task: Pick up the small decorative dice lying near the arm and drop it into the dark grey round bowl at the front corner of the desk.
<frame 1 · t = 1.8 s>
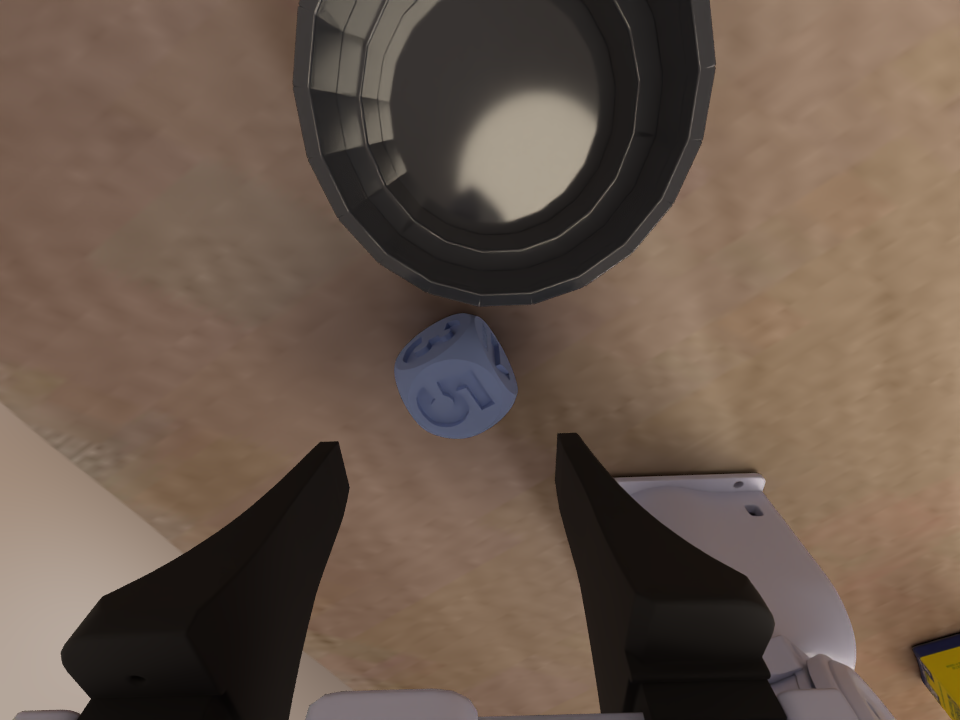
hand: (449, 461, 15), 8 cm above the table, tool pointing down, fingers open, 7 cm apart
dark grey round bowl: (495, 115, 17), on the table
supplement box: (954, 649, 34), on the table
decorative dice: (459, 352, 22), on the table
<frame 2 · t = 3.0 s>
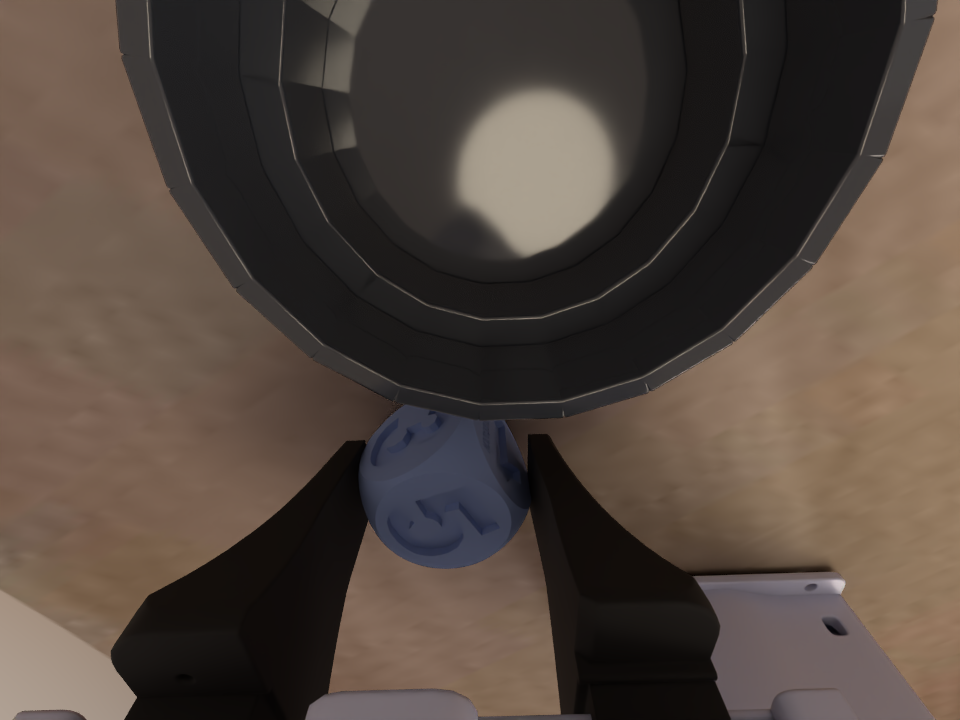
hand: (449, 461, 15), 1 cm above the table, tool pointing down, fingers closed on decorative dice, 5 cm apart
dark grey round bowl: (502, 112, 11), on the table
decorative dice: (451, 431, 16), on the table, touching gripper
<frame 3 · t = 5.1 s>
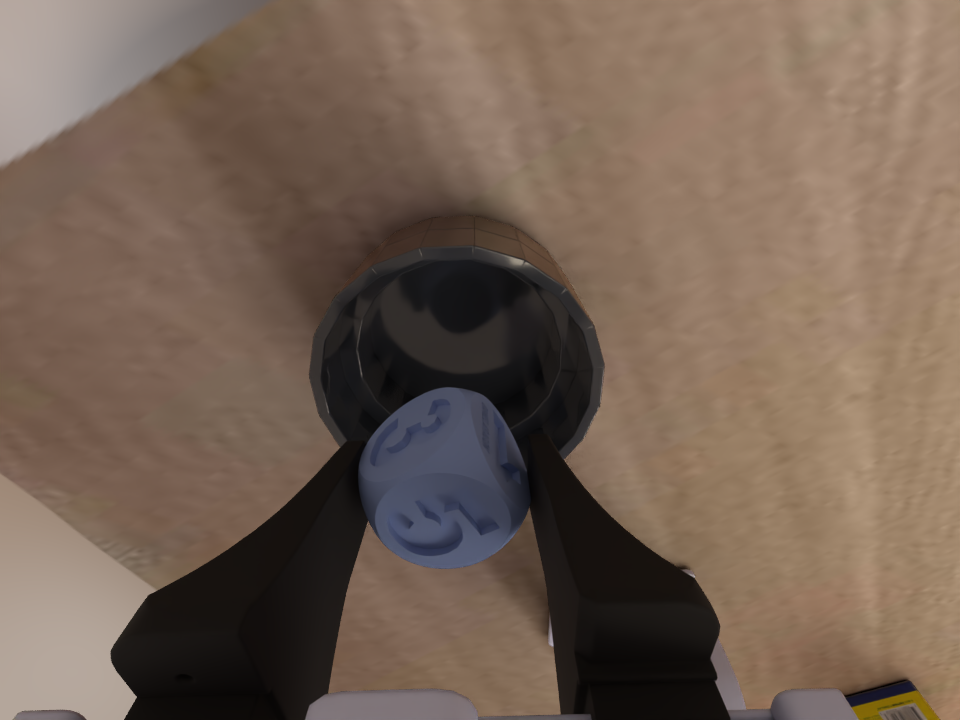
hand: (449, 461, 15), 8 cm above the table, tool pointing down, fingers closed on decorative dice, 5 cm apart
dark grey round bowl: (461, 330, 22), on the table
supplement box: (875, 700, 39), on the table
decorative dice: (450, 431, 16), point 7 cm above the table, touching gripper
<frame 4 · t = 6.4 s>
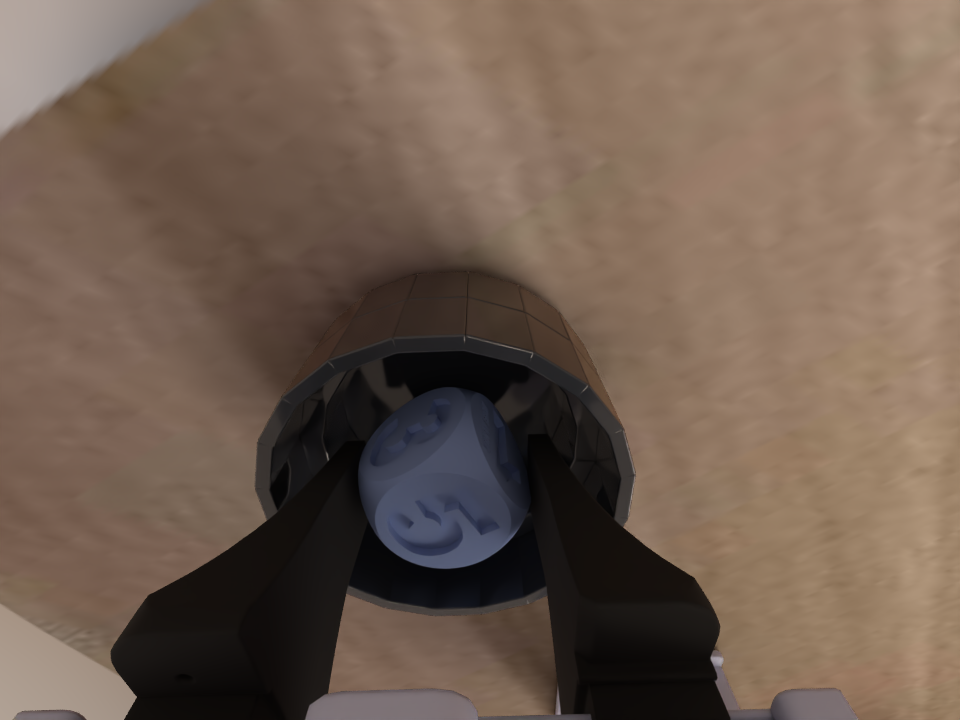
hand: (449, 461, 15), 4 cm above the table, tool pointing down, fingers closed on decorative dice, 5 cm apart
dark grey round bowl: (454, 399, 18), on the table
decorative dice: (450, 431, 16), point 2 cm above the table, touching gripper
when the fingers open (2 cm above the table, at t = 7.7 s): decorative dice stays where it is, resting on dark grey round bowl.
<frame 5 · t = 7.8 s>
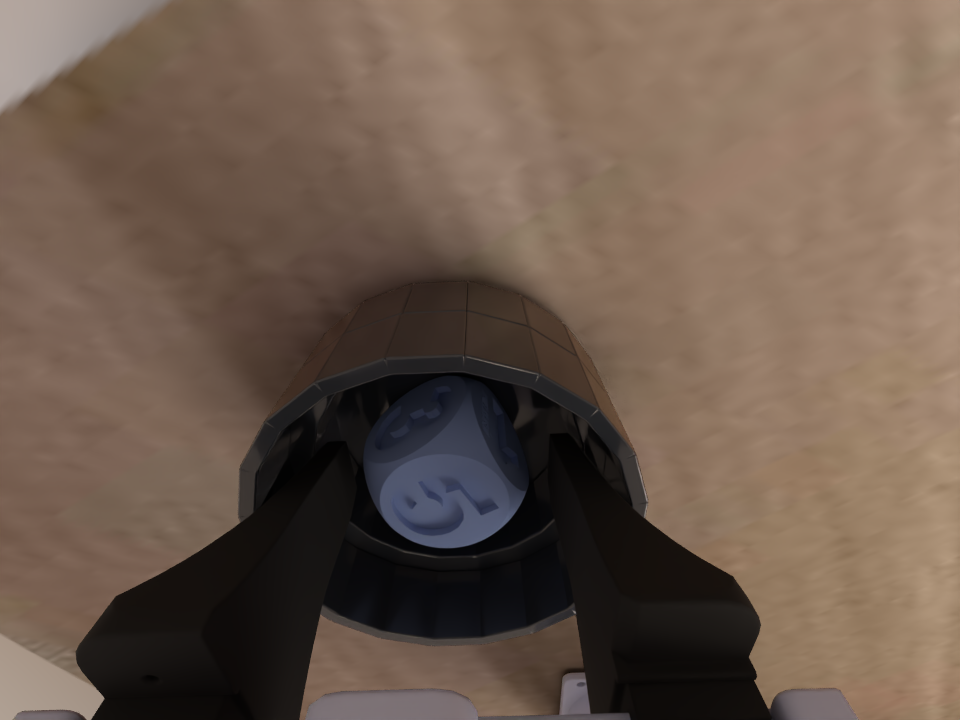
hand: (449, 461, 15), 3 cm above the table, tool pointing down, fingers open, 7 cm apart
dark grey round bowl: (453, 414, 17), on the table
decorative dice: (451, 419, 17), resting on dark grey round bowl
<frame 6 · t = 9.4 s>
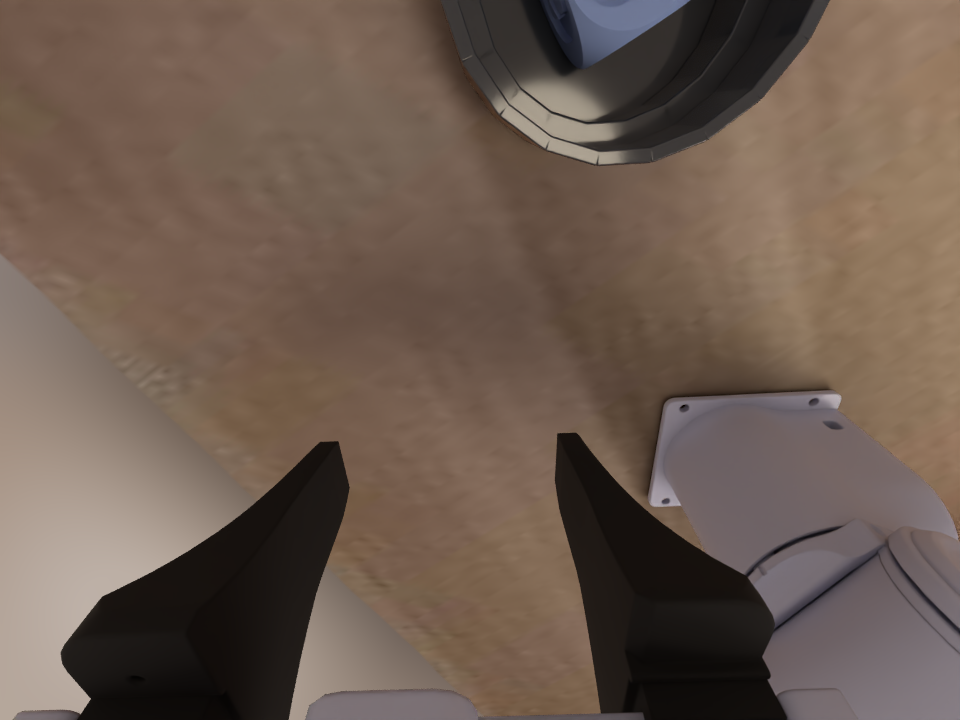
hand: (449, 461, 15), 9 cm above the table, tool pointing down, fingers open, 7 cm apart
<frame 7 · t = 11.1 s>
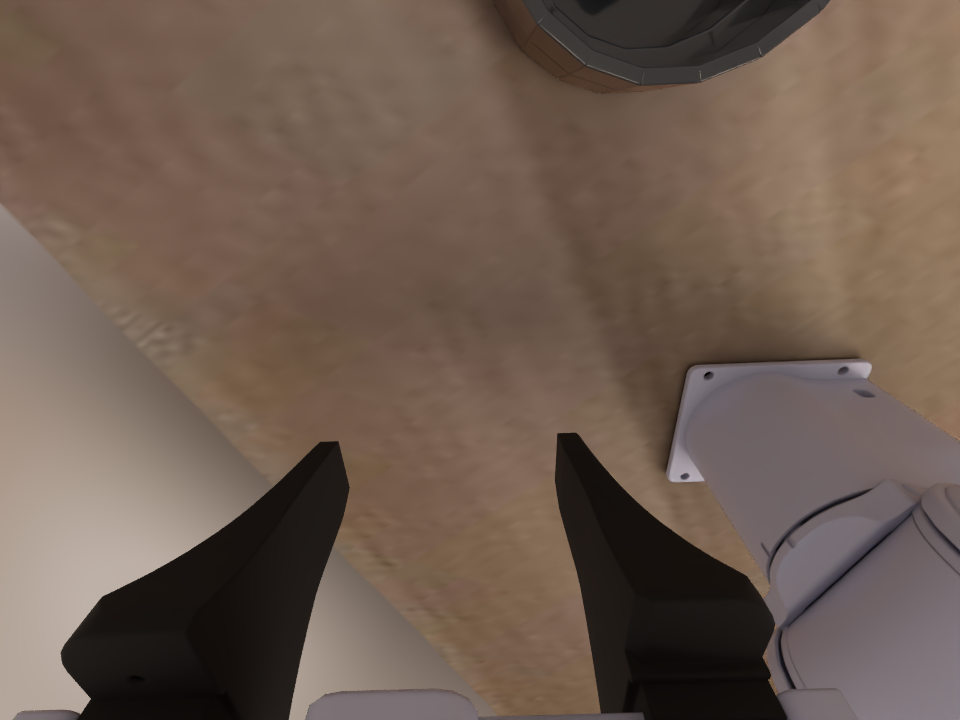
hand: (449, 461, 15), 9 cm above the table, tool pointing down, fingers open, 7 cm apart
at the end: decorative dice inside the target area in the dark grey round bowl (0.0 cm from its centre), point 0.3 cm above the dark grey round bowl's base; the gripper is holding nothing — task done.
